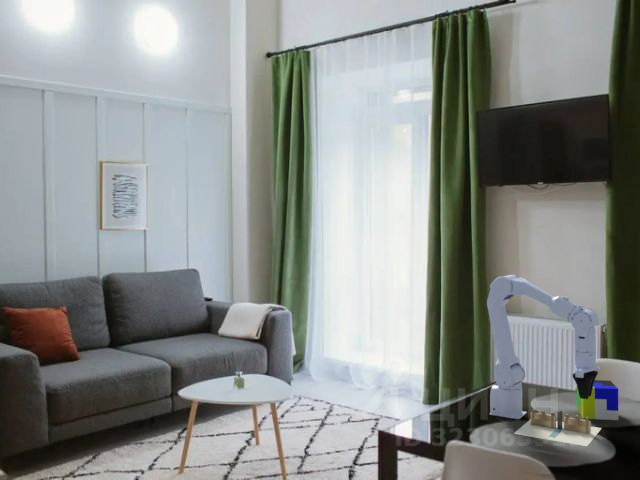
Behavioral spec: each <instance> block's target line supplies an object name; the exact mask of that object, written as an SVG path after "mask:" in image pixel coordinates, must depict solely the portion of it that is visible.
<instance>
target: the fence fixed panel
mask: <svg viewBox="0 0 640 480" xmlns="http://www.w3.org/2000/svg"><path fill="white" fill-rule="evenodd" d="M556 412H557V413H556V415H555V411H551V412H550V414H549V413H546V411H545V409H544V410H543V409H542V410H541V412H536V409H535V408H532V409H531V411H530V419H529V420H530V423H531V424H533V425H540V426H546V427H552V428H556V421H557V429H563V426H562V422H563V411H562V410H557V411H556Z"/></svg>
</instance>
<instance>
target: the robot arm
mask: <svg viewBox="0 0 640 480" xmlns="http://www.w3.org/2000/svg"><path fill="white" fill-rule="evenodd" d="M489 288H490V290H489V293H488V296H487V300H486V306H487V311H488V315H489V320H490V326H491V331H492V336H493V340H494V345H495V352H496V356H497V359H496V362H495V366H494V367H495V374H494V380H495V383H496V384H493V385H491V387H490V391H489V392H490V394H489V407H490V408H489V409H490V410H489V412H490V413H489V416H495V417H501V418H508V419H509V418H510V419H515V420H520V419H521V418H522V417H524V416H525V415H527V413H528V412H527V411H523V384H522V382H523V381H524V380H525V378H526V371H525V368H524V367H523V365H522V364H521V360H520V358H519V357H518V356H517V355H516V353H515V348H514V343H513V339H512V334H511V329H510V324H509V319H508V314H507V313H508V312H507V309H506V305H507V304H508V302H510V300H511V299H512V298H513V297H514V296H521V295H523V296H527V297H529V298H531V299H533V300H535V301H537V302H539V303H541V304H543V305H544V306H547V307H548V308H549V311H550V312H551V313H552V314H554V315H555V316H557V317H559V318H561V319H562V320H565V321H566V322H568V323H571V326H572V327H573V328H574V365H573V369H574V370H575V372H574V373H572V378H573V380H574V382H575V384H576V389H577V388H578V392H579V396H580V398H582V399H588V397H589V396H591V393H592V389H593V384H594V381H595V380H596V377H597V376H598V374H599V372H598V371H600V370H601V366H599V365H598V366H597V364H596V363H597V362H596V361H597V360H596V358H597V357H596V355H597V353H596V352H597V349H596V347H597V346H596V345H597V343H596V340H597V338H596V337H597V336H596V326H597V324H598V323H599V316H598V314H597V313H596V311H594V310H593V309H592V308H590V307H585V308H584V305H582V304H578V303H575V302H573V301H571V300H570V299H569V297H568V296H567V295H564V296H562V295H557V296H553V295H552V294H550V293H548V292H547V291H545V290H544V289H542V288H540V287H538V286H537V285H535V284H534V283H532V282H530V281H529V280H528V279H526V278H524V277H520V276H519V275H517V274H514V273H512V274H509V275H504V276H501V275H500V276H497V277H496V278H494V280H493V281H492V282H491V283H490V284H489Z"/></svg>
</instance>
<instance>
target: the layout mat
mask: <svg viewBox="0 0 640 480" xmlns="http://www.w3.org/2000/svg"><path fill="white" fill-rule="evenodd" d="M562 426H563V429H557V420H556V428H552V427H546V426H540V425H533V424H531V423H530V419H529V420H528V421H527V422H525V423H524V424H523V425H522V426H521V427H520V428H518V429H517V430H516V431H515V432H514V433H513V435H519V436H524V437H530V438H536V439H542V440H548V441H551V442H552V441H553V442H558V443H565V444H569V445H570V444H571V445H575V446H582V447H588V446H589V445H590V444H591V442H592V441H593V440H594V439H595V438H596V436H597V435H598V434H599V433H600V431H601V430H602V427H597V426H592V425H591V433H590V434H589V433H583V432H576V431H571V430H565V429H564V421H562Z"/></svg>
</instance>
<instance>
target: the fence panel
mask: <svg viewBox="0 0 640 480" xmlns="http://www.w3.org/2000/svg"><path fill="white" fill-rule="evenodd" d="M569 414H570V413H565V414H564V417H563V422H564V429H565V430H571V431H576V432H583V433H589V434H590V433H591V426H592V423H591V420H590V419H589V417H586V419H583V418H579V417H580V416H579V415H577V414H576V415H575V416H574V417H570V416H569Z"/></svg>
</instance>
